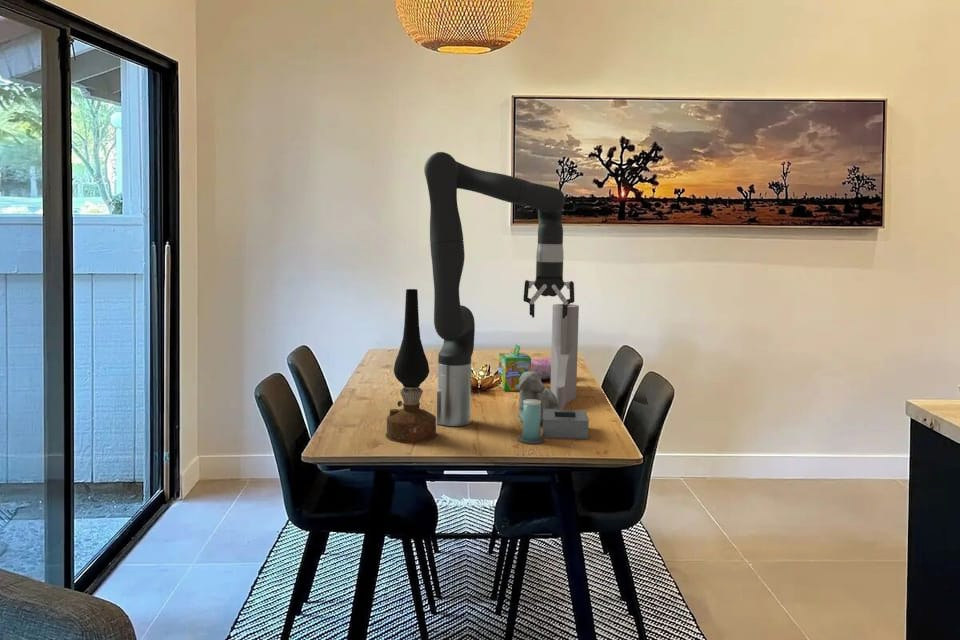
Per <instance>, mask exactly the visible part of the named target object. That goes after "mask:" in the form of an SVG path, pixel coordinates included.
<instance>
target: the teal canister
mask: <svg viewBox="0 0 960 640" xmlns="http://www.w3.org/2000/svg"><path fill="white" fill-rule="evenodd" d="M540 416H541V401H540V400H536V399H526V400H523V423H522V435H523V439H524V440H529V441H535V440H539V439H540V436H541V423H540Z"/></svg>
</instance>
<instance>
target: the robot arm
mask: <svg viewBox="0 0 960 640" xmlns="http://www.w3.org/2000/svg"><path fill="white" fill-rule="evenodd" d="M423 171H424V176H425V180H426V185H427V189H428V196H429V205H430V206H429V207H430V212H429V214H430V215H429V216H430V217H429V243H430V244H429V245H430V247H429V248H430V256H431V257H430V258H431V263H432V264H431V265H432V279H433V288H434V289H433V295H434V300H433V301H434V305H433V306H434V307H433V324H434V329H435V331H436V334H437V336H439V338H441V339H443V345H442V347H441V349H440V351H439V352H438V356H437V359H438V361H437V363H438V364H437V365H438V366H437V367H438V368H437V390H436V425H441V426H448V427H460V426H461V427H462V426H468V425H469V424H470V423H471V401H472V400H471V396H472V395H471V394H472V393H471V390H472V389H471V386H472V385H471V384H472V377H471V376H472V356H473V353H474V347H475V335H476V334H475V332H476V330H475V329H476V325H475V322H476V321H475V317H474V313H473V312H472V311H471V309H470V308H468V306H466V305H462V304H461V301H460V298H461V297H460V285H461V284H460V283H461V279H462V274H463V270H464V265H465V243H464V242H465V240H464V233H463V226H462V221H461V217H460V212H459V206H458V197H457V195H458V190H457V189H460V190H465V191H470V192H474V193H478V194H481V195H484V196H486V197H487V196H488V197H490V198H494V199H497V200H500V201H503V202H507V203H511V204H514V205H519V206H525V207H529V208H532V209H535V210H537V218H538V228H537V248H536V253H535V255H536V256H535V258H536V260H535V264H536V265H535V279H534V280H529V279H525V281H524V285H523V286H524V289H523V299H522V300H523V302H526V303H528V304H529V316H531V318H534V319H535V308H536V307H535V302H536V301H537V300H538V299H539V298H540V296H542V297H558V298H559V300H560V301H561V302H562V303H561V304H562V318H565V316H567V311H568V304H575V282H574V281H572V280H570V281H564V227H563V224H562V223H563V222H562V219H563V218H562V217H563V216H562V215H563V208H564V207H565V204H566V196H565V194H564V193H563V192H562V191H561V190H560V188H557V187H552V186H549V185H545V184H540V183H534V182H531V181H528V180H526V179H523V178H520V177H515V176H512V175H508V174H502V173H498V172H492V171H488V170H487V171H486V170H481V169H477V168H474V167H470V166H468V165H465V164H463V163H461V162H458V161H456V159H455V158H454V157H453V156H452V155H451V154H450V153H447V152H444V151H436V152H434V153H432V154H431V155H429V157H428V158H427V159H426V161H425V163H424V167H423ZM533 286H534V287H535V288H536V290H537V291H536V292H535V293H534V294H533V296H532V297H531V298H530V297H529V289H532V287H533ZM564 287H566V289H567V290H569V298H568V299H567V298H566V297H565V296H564V294H563V293H562V289H563V288H564Z"/></svg>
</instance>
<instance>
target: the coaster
mask: <svg viewBox="0 0 960 640" xmlns="http://www.w3.org/2000/svg"><path fill="white" fill-rule="evenodd" d="M545 439H546V438H544V437H543V435H540V439H539V440H535V441H529V440H524V439H523V434H522V435H520V436H518V438H517V441H518V442H520V443H521V444H525V445H540V444H542V443H545V441H546V440H545Z"/></svg>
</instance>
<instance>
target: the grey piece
mask: <svg viewBox="0 0 960 640" xmlns="http://www.w3.org/2000/svg"><path fill="white" fill-rule="evenodd" d="M562 304H563V303H556V304H552V316H551V317H552V318H551V319H552V320H551V349H550V350H551V353H550V355H551V356H550V358H551V380H550V390H551V391H552V392H553V394H554V395H555V397H556V399H557V403H558V405H559V409H565V407H566V404H567V403H569V402H571V401H573V400H575V399H577V383H578V381H577V378H578V350H579V349H578V348H579V347H578V345H579V344H578V343H579V341H578V340H579V318H580V317H579V315H580V314H579V313H580V311H579V309H580V308H579V307H580V305H579V304H575V303H570V304H568V311H567V316H565V318H562Z"/></svg>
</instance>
